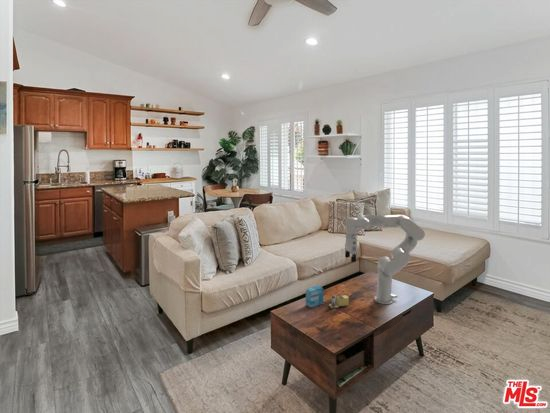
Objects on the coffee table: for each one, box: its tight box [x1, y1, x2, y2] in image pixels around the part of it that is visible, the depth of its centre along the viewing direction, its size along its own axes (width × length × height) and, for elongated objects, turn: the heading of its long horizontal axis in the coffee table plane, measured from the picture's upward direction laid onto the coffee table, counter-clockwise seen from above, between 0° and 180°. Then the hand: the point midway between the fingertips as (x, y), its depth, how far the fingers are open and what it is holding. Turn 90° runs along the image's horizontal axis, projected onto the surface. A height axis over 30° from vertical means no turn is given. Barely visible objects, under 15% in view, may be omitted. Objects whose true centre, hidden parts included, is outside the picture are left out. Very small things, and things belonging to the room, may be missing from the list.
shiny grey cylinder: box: [331, 295, 337, 306], centre depth 228 cm, size 2×2×6 cm
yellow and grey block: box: [335, 294, 350, 307], centre depth 231 cm, size 7×5×6 cm, turn 101°
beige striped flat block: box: [328, 303, 339, 309], centre depth 228 cm, size 5×4×1 cm
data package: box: [305, 285, 324, 309], centre depth 230 cm, size 12×4×12 cm, turn 124°
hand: (350, 259), depth 233 cm, fingers open, 9 cm apart
